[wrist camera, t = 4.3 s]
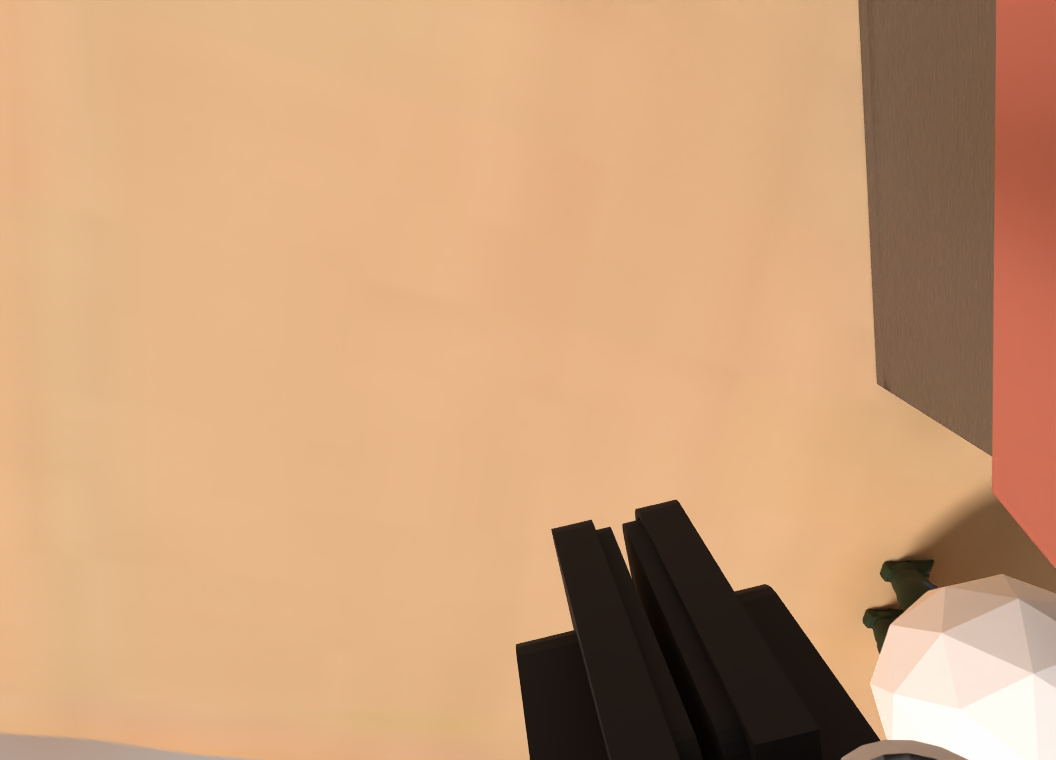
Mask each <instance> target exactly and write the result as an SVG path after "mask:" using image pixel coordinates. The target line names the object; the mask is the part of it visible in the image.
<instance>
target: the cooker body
mask: <svg viewBox="0 0 1056 760" xmlns="http://www.w3.org/2000/svg"><path fill="white" fill-rule="evenodd" d="M859 20H860V41H861V61H862V82H863V103H864V123H865V144H866V165H867V186H868V206H869V227H870V248H871V268H872V289H873V310H874V331H875V351H876V372H877V384H878V385H880V386H881V387H883V388H885V389H886V390H888V391H889V392H891V393H892V394H894V395H896V396H897V397H899V398H900V399H902V400H904V401H905V402H907V403H908V404H910V405H911V406H913V407H915V408H916V409H918V410H919V411H921V412H923V413H924V414H926V415H927V416H929V417H930V418H932V419H934V420H935V421H937V422H938V423H940V424H942V425H943V426H945V427H946V428H948V429H949V430H951V431H953V432H954V433H956V434H957V435H959V436H961V437H962V438H964V439H965V440H967V441H968V442H970V443H972V444H973V445H975V446H976V447H978V448H980V449H981V450H983V451H984V452H986V453H987V454H989V455H991V456H992V431H993V320H994V209H995V98H996V0H859Z"/></svg>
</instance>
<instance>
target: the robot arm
mask: <svg viewBox="0 0 1056 760" xmlns="http://www.w3.org/2000/svg"><path fill="white" fill-rule="evenodd" d="M635 518H636V521H632V522H628V523H624V524H623V525H622V526H623V534H624V540H625V545H626V550H627V555H628V561H629V566H630V571H631V576H632V578H631V576H630V573H629V571H628V568H627V566H626V563H625V561H624V559H623V556H622V554H621V551H620V549H619V546H618V544H617V541H616V539H615V536H614V534H613V532H612V529H611V527H607V528H603V529H599V530H596V529H595V527H594V524H593V522H592V520H588V521H584V522H580V523H575V524H571V525H567V526H563V527H559V528H554V529H551V530H552V535H553V539H554V544H555V548H556V553H557V557H558V562H559V566H560V570H561V575H562V579H563V584H564V588H565V593H566V597H567V601H568V606H569V610H570V615H571V619H572V624H573V628H574V631H569V632H565V633H561V634H557V635H553V636H549V637H545V638H540V639H536V640H532V641H528V642H524V643H520V644H516V654H517V663H518V670H519V678H520V686H521V693H522V701H523V709H524V716H525V724H526V732H527V739H528V747H529V755H530V760H968V759H966V758H964V757H962V756H960V755H958V754H955V753H953V752H951V751H949V750H947V749H945V748H942V747H940V746H935V745H931V744H927V743H923V742H918V741H914V740H883V741H880V739H879V738H878V736H877V735H876V733H875V732H874V731H873V729H872V728H871V726H870V725H869V724H868V722H867V721H866V719H865V718H864V716H863V715H862V714H861V712H860V711H859V709H858V708H857V707H856V705H855V704H854V702H853V701H852V700H851V698H850V697H849V695H848V694H847V692H846V691H845V690H844V688H843V687H842V685H841V684H840V683H839V681H838V680H837V678H836V677H835V675H834V674H833V673H832V671H831V670H830V668H829V667H828V666H827V664H826V663H825V661H824V660H823V658H822V657H821V656H820V654H819V653H818V651H817V650H816V649H815V647H814V646H813V644H812V643H811V641H810V640H809V639H808V637H807V636H806V634H805V633H804V632H803V630H802V629H801V627H800V626H799V624H798V623H797V622H796V620H795V619H794V617H793V616H792V615H791V613H790V612H789V610H788V609H787V607H786V606H785V605H784V603H783V602H782V600H781V599H780V598H779V596H778V595H777V593H776V592H775V591H774V590H773V589H772V588H771V587H770V586H768V585H766V584H764V585H760V586H756V587H752V588H748V589H743V590H739V591H735V592H734V590H733V589H732V587H731V586H730V584H729V582H728V581H727V579H726V578H725V576H724V574H723V573H722V571H721V569H720V568H719V566H718V565H717V563H716V561H715V560H714V558H713V556H712V555H711V553H710V552H709V550H708V548H707V547H706V545H705V544H704V542H703V540H702V539H701V537H700V535H699V534H698V532H697V531H696V529H695V527H694V526H693V524H692V522H691V521H690V519H689V518H688V516H687V514H686V513H685V511H684V510H683V508H682V506H681V505H680V503H679V502H678V501H677V500H672V501H668V502H664V503H660V504H656V505H651V506H647V507H643V508H639V509H636V510H635Z"/></svg>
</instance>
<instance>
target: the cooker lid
mask: <svg viewBox="0 0 1056 760" xmlns="http://www.w3.org/2000/svg"><path fill="white" fill-rule="evenodd" d="M992 492H993V494H994V495H995V496H996V497H997V498H998V500H999V501H1000V502H1001V503H1002V505H1003V506H1004V507H1005V508H1006V509H1007V511H1008V512H1009V513H1010V514H1011V515H1012V517H1013V518H1014V519H1015V520H1016V522H1017V523H1018V524H1019V525H1020V526H1021V528H1022V529H1023V530H1024V531H1025V532H1026V534H1027V535H1028V536H1029V537H1030V539H1031V540H1032V541H1033V542H1034V543H1035V545H1036V546H1037V547H1038V548H1039V549H1040V551H1041V552H1042V553H1043V554H1044V556H1045V557H1046V558H1047V559H1048V560H1049V562H1050V563H1051V564H1052V565H1053V567H1054V568H1055V569H1056V0H996V98H995V209H994V320H993V431H992Z"/></svg>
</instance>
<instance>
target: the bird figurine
mask: <svg viewBox="0 0 1056 760" xmlns="http://www.w3.org/2000/svg"><path fill="white" fill-rule="evenodd" d="M933 563H934V560H926V561H907V563H906V562H902V563H899V564H898V563H884V564H883V566H882V569H881V572H880V575H881V577H882V578H883V579H884V581H886V582H891V584H892V587H893V589H894V591H895V593H896V595H897V600H898V603H899V605H900V607H901V608H902V610H895V609H889V610H888V611H879V610H866V612H865V615H864V617H863V624H864V625H865V626H866V627H867V628H872V629H873V631H874V636H875V640H876V642H877V648H878V651H879V654H880V656H879V659H878V661H877V664H876V667H875V670H874V673H873V676H872V679H871V682H870V685H871V688H872V692H873V695H874V698H875V702H876V705H877V708H878V712H879V715H880V718H881V721H882V725H883V728H884V731H885V735H886V738H887V740H914V741H918V742H923V743H927V744H931V745H935V746H940V747H942V748H945V749H947V750H949V751H951V752H953V753H955V754H958V755H960V756H962V757H964V758H966V759H968V760H1056V593H1053V592H1051V591H1048V590H1045V589H1042V588H1040V587H1037V586H1034V585H1031V584H1029V583H1026V582H1023V581H1020V580H1018V579H1015V578H1012V577H1009V576H1007V575H1004V574H999V575H995V576H990V577H986V578H982V579H977V580H973V581H968V582H964V583H959V584H955V585H950V586H946V587H942V588H939V587H937V586H935V585H933V584H932V583H931V582H930V581H929V580H928V578H929V574H928V573H929V572H930V571H931V569H932V566H933Z"/></svg>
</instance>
